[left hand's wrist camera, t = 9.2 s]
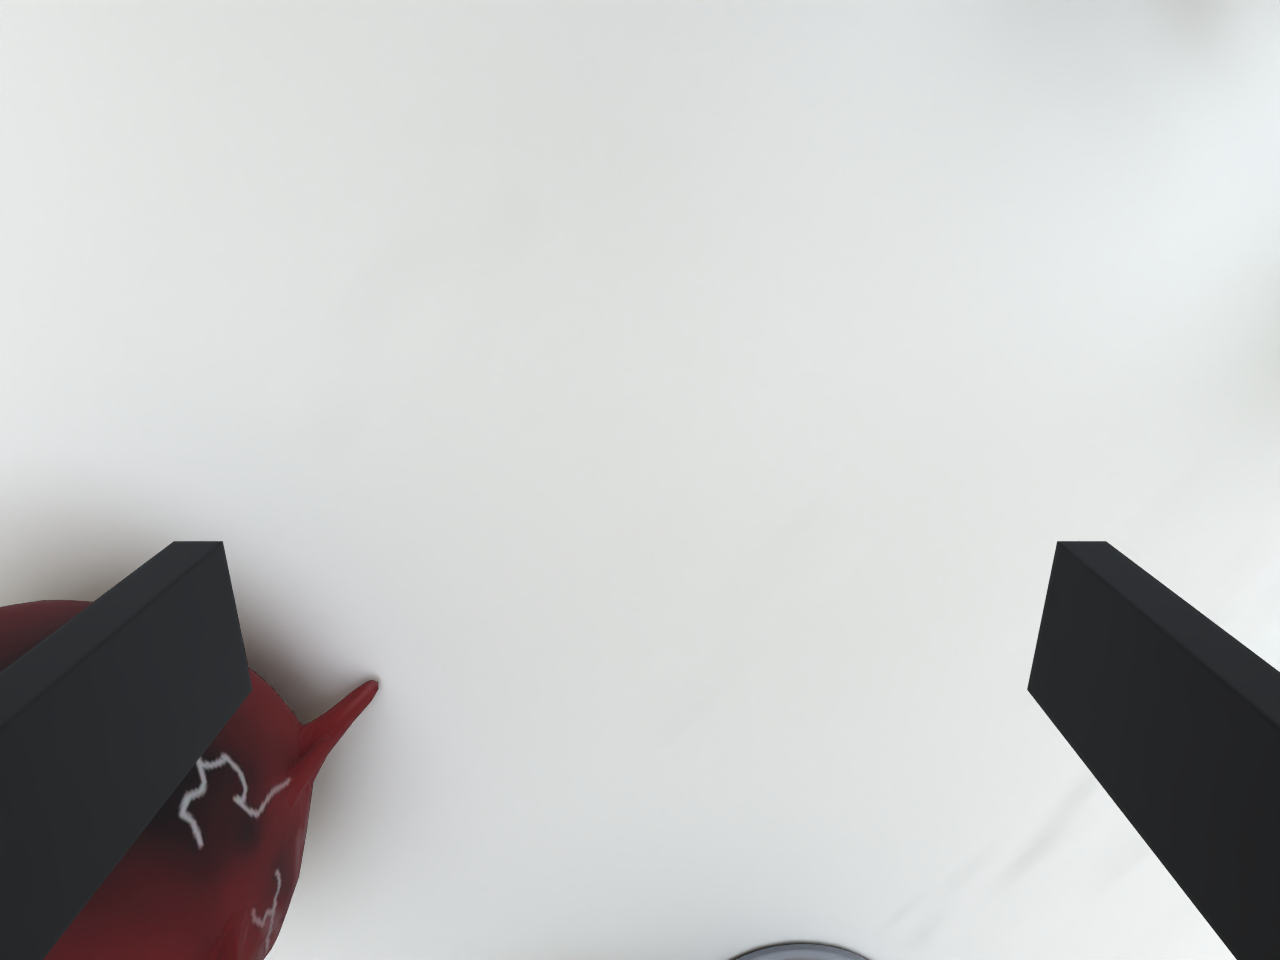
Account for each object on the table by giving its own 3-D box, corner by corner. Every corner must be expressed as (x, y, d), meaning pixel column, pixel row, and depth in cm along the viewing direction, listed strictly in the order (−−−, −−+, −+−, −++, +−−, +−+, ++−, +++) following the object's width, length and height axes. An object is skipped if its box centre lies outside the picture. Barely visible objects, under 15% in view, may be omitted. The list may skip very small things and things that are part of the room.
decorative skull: (91, 1222, 40) (295, 1149, 28) (-520, 1134, 31) (-627, 967, 19) (259, 822, 57) (436, 662, 44) (-109, 688, 48) (-19, 440, 35)
